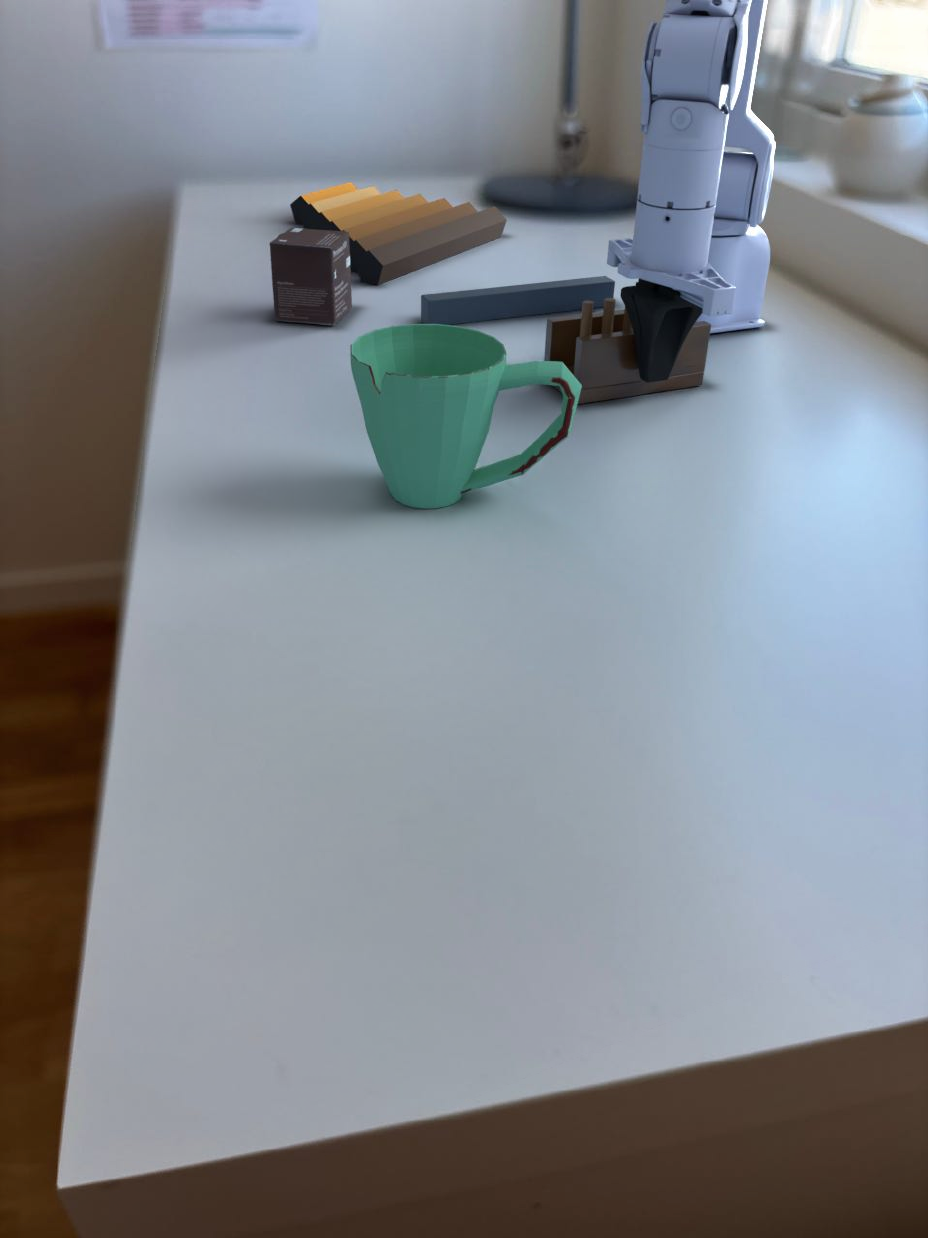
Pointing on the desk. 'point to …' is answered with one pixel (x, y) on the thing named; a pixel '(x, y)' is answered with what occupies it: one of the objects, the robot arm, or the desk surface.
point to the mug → (445, 408)
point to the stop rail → (514, 300)
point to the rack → (617, 354)
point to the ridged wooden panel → (396, 228)
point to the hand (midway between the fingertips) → (654, 378)
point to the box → (311, 276)
